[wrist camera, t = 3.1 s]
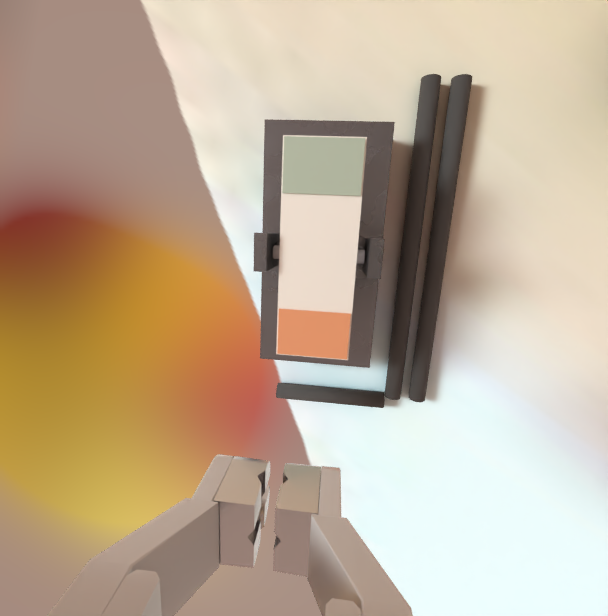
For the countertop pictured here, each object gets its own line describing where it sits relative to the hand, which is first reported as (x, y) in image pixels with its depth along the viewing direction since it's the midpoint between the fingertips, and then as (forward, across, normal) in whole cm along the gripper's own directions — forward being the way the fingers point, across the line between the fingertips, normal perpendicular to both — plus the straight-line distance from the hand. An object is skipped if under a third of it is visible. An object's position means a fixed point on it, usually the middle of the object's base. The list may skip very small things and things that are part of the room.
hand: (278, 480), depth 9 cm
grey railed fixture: (+21, -3, -5) cm, 22 cm away
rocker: (+14, 0, -5) cm, 15 cm away
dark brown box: (+21, 0, -5) cm, 22 cm away
